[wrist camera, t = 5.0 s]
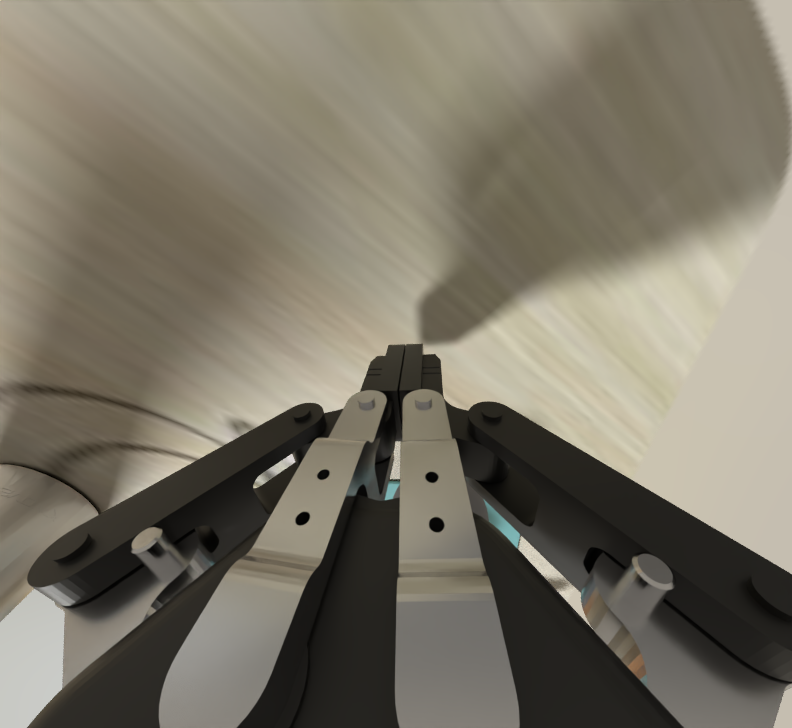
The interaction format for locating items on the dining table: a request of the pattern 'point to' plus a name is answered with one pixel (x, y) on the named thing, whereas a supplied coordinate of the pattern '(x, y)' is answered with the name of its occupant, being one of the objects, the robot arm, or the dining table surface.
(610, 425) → the dining table surface
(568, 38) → the dining table surface
